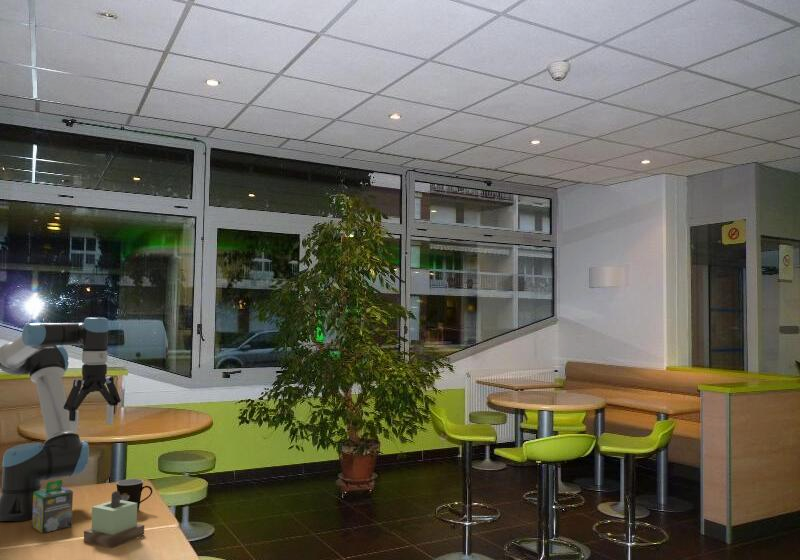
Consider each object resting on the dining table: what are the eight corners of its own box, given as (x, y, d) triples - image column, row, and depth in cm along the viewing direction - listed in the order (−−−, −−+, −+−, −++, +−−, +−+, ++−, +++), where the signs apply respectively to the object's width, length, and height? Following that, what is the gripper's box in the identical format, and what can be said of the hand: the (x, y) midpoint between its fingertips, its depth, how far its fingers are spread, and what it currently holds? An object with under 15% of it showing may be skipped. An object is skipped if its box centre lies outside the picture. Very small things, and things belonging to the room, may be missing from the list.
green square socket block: (91, 530, 193) (92, 506, 193) (115, 521, 201) (116, 499, 202) (112, 534, 189) (113, 511, 190) (136, 525, 197) (137, 503, 198)
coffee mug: (109, 512, 220) (110, 483, 220) (130, 505, 227) (131, 477, 228) (133, 517, 214) (134, 487, 215) (153, 510, 222) (154, 481, 222)
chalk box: (60, 520, 211) (62, 475, 212) (72, 526, 205) (74, 480, 206) (30, 527, 204) (32, 480, 205) (41, 534, 198) (43, 485, 199)
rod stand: (83, 541, 192) (85, 493, 193) (116, 529, 203) (118, 484, 204) (111, 547, 187) (113, 498, 188) (144, 535, 198) (145, 488, 199)
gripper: (68, 366, 200) (66, 435, 199) (132, 361, 222) (130, 423, 221) (52, 365, 203) (50, 432, 202) (117, 360, 226) (115, 421, 224)
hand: (92, 427), depth 212 cm, fingers open, 13 cm apart
